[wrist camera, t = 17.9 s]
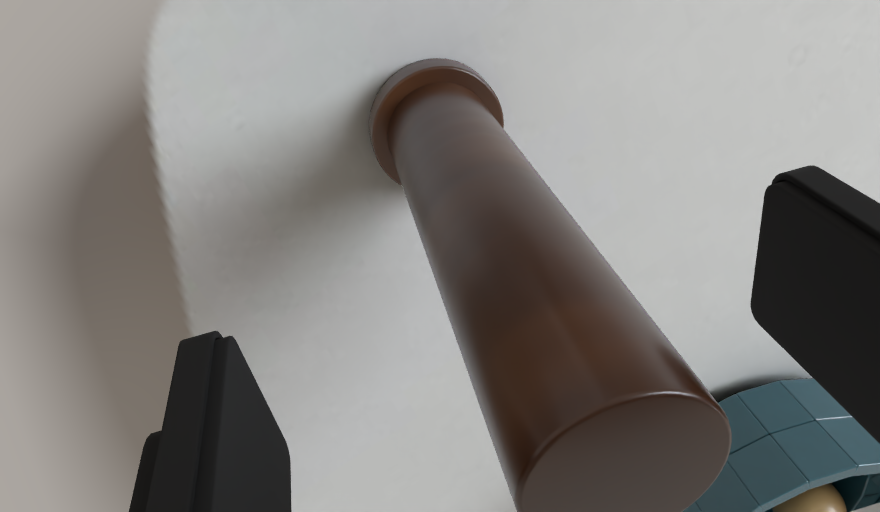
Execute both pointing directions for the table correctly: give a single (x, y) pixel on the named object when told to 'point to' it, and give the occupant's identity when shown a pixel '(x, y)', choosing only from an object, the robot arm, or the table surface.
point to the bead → (814, 501)
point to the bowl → (791, 450)
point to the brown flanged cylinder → (542, 314)
